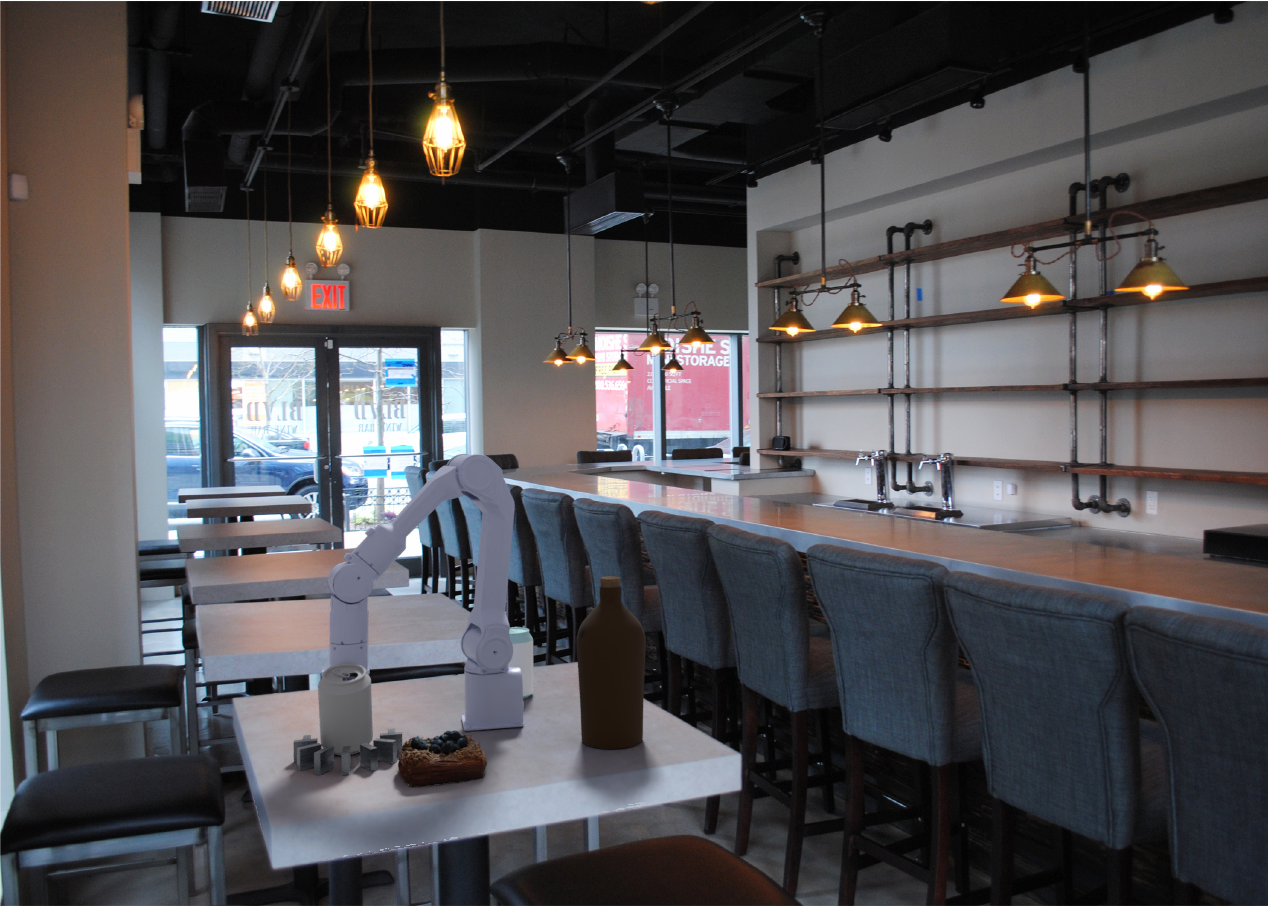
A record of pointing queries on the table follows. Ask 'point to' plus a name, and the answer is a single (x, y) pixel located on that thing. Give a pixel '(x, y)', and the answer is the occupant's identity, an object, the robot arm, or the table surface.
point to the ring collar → (346, 753)
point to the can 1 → (345, 708)
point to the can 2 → (523, 657)
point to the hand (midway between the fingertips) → (348, 729)
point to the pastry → (441, 760)
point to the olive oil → (611, 672)
